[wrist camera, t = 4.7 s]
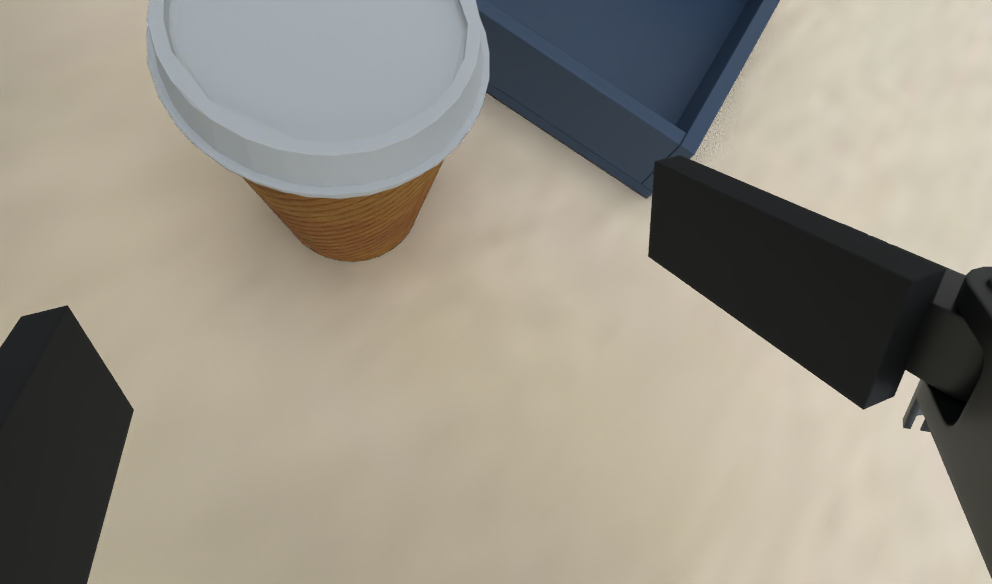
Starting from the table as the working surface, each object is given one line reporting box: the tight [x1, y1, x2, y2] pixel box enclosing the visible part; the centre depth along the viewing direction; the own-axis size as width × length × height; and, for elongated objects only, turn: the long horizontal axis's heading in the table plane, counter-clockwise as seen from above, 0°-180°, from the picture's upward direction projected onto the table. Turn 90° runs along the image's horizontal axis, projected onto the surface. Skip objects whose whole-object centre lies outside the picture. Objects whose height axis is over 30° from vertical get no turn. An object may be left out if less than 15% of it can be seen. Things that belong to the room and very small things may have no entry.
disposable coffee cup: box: [147, 0, 489, 262], centre depth 20 cm, size 10×10×12 cm
